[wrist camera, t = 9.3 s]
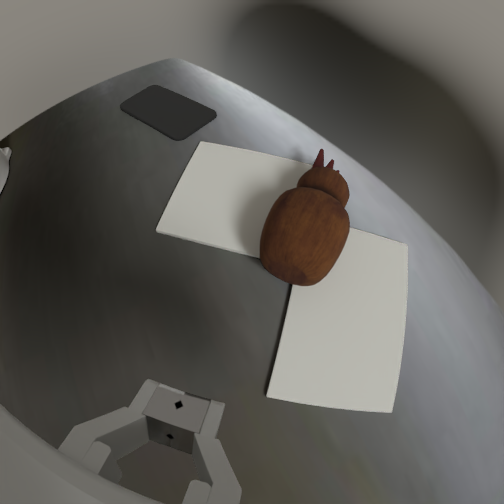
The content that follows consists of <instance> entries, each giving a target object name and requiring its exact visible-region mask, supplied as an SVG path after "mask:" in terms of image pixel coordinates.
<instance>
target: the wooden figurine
mask: <svg viewBox="0 0 504 504" xmlns="http://www.w3.org/2000/svg"><path fill="white" fill-rule="evenodd" d="M333 164H334V160H333V159H332V160H331V161H330V162H329V163H328V165H327V166H326V167H324V150H323V149H321V150H320V151H319V154H318V156H317V158H316V160H315V162H314V164H313V166H312V168H311V169H309V170H308V171H307V172H305V173H304V174H303V175H302V176H301V177H300V179H299V180H298V183H297V188H293V189H290V190H286V191H285V192H284V193H282V194H281V195H280V196H279V197H278V199H277V200H276V201H275V202H274V204H273V206H272V207H271V209H270V211H269V213H268V216H267V218H266V220H265V223H264V226H263V229H262V234H261V238H260V256H259V257H260V259H261V262H262V264H263V266H264V268H265V269H266V270H267V271H268V272H269V273H271V274H272V275H274V276H275V277H277V278H279V279H281V280H283V281H285V282H287V283H290V284H293V285H298V286H312V285H315V284H317V283H318V282H320V281H321V280H322V279H323V278H324V277H326V276H327V275H328V273H329V272H330V270H331V269H332V268H333V266H334V265H335V263H336V261H337V259H338V258H339V256H340V254H341V252H342V250H343V248H344V246H345V243H346V241H347V238H348V235H349V231H350V222H349V216H348V213H347V212H346V210H345V209H344V208H345V206H346V204H347V202H348V199H349V189H348V185H347V182H346V181H345V179H344V178H343V177H342V175H340V174H339V171H338V170H337V171H335V170H334V169H333Z"/></svg>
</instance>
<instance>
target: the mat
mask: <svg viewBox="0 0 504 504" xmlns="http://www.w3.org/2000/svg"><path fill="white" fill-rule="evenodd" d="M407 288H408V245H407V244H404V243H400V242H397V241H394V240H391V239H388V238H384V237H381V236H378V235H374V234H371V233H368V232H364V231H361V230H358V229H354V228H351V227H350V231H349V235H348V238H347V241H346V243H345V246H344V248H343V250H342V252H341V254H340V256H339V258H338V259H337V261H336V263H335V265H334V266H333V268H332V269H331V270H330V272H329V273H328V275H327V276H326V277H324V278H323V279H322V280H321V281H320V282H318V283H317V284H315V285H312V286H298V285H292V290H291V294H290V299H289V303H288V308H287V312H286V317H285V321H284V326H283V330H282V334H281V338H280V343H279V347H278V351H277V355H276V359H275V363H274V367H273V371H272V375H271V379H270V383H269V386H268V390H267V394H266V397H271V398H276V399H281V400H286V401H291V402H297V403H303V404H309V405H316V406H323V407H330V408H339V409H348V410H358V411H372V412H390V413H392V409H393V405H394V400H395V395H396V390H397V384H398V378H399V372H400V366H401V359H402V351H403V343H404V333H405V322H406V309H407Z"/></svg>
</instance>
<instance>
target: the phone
mask: <svg viewBox="0 0 504 504" xmlns="http://www.w3.org/2000/svg"><path fill="white" fill-rule="evenodd" d="M120 108H121V110H122V111H124V112H125V113H127V114H129V115H130V116H132V117H134V118H136V119H137V120H140V121H142V122H143V123H145V124H147V125H149V126H150V127H152V128H154V129H155V130H157V131H159V132H161V133H162V134H164V135H166V136H167V137H169V138H171V139H173V140H176V141H180V140H184V139H186V138H187V137H189V136H190V135H191V134H193V133H194V132H196V131H197V130H199V129H200V128H202V127H203V126H205V125H206V124H208V123H209V122H211V121H212V120H214V119H215V118H216V116H217V114H216V112H215V111H214V110H212V109H210V108H208V107H206V106H204V105H202V104H200V103H198V102H195V101H193V100H191V99H189V98H187V97H184V96H182V95H180V94H178V93H175V92H173V91H170V90H168V89H166V88H163V87H161V86H158V85H152V86H149V87H147V88H146V89H144V90H142V91H140V92H139V93H137V94H135V95H134V96H132V97H131V98H129V99H127V100H126V101H124V102H123V103H122V104H121V105H120Z"/></svg>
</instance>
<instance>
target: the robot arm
mask: <svg viewBox="0 0 504 504" xmlns="http://www.w3.org/2000/svg"><path fill="white" fill-rule="evenodd" d="M11 152H12V151H11V149H10V148H9V147H6V148H3V149H1V148H0V193H1V191H2V189H3V187H4V185H5V182H6V180H7V177H8V173H9V158H10V156H11ZM224 406H225V403H221V402H217V401H214V400H211V399H208V398H204V397H200V396H197V395H194V394H190V393H187V392H182V391H179V390H177V389H174V388H171V387H169V386H166V385H163V384H161V383H158V382H156V381H153V380H150V379H147V380H146V381H145V382H144V384H143V385H142V387H141V388H140V390H139V392H138V393H137V395H136V396H135V398H134V400H133V401H132V403H131V404H130V406H129V408H127V407H123V408H120V409H118V410H115V411H113V412H111V413H108V414H106V415H103V416H100V417H98V418H95V419H93V420H90V421H87V422H85V423H82V424H79V425H76V426H74V428H73V429H72V430H71V432H70V433H69V435H68V436H67V437H66V439H65V440H64V442H63V443H62V444H61V446H60V447H59V449H58V450H57V449H55V448H54V447H52V446H51V445H50V444H48V443H47V442H45V441H44V440H43V439H41V438H40V437H39V436H37V435H36V434H35V433H33V432H32V431H31V430H30V429H28V428H27V427H26V426H25V425H24V424H22V423H21V422H20V421H19V420H18V419H16V418H15V417H14V416H13V415H12V414H11V413H10V412H9V411H7V410H6V409H5V408H4V407H3V406H2V405H1V404H0V504H164V503H161V502H158V501H156V500H153V499H150V498H148V497H145V496H143V495H140V494H138V493H135V492H133V491H131V490H129V489H126V488H124V487H122V486H120V485H118V483H119V480H120V478H121V476H122V473H121V470H120V468H119V466H118V464H117V462H116V460H118V459H119V458H121V457H123V456H125V455H126V454H128V453H130V452H132V451H133V450H135V449H137V448H139V447H140V446H142V445H144V444H145V443H147V442H149V440H151V441H154V442H157V443H160V444H163V445H165V446H169V447H171V448H174V449H177V450H180V451H183V452H186V453H188V454H191V455H192V457H193V461H194V464H195V467H196V470H197V473H198V476H199V479H200V481H198V480H193V481H191V482H190V484H189V487H188V490H187V492H186V495H185V498H184V500H183V503H182V504H239V502H240V497H241V493H242V489H241V487H240V485H239V483H238V481H237V479H236V477H235V475H234V472H233V470H232V468H231V466H230V464H229V462H228V459H227V457H226V455H225V453H224V450H223V448H222V446H221V443H220V441H219V439H216V437H217V434H218V430H219V426H220V422H221V418H222V414H223V410H224Z"/></svg>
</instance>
